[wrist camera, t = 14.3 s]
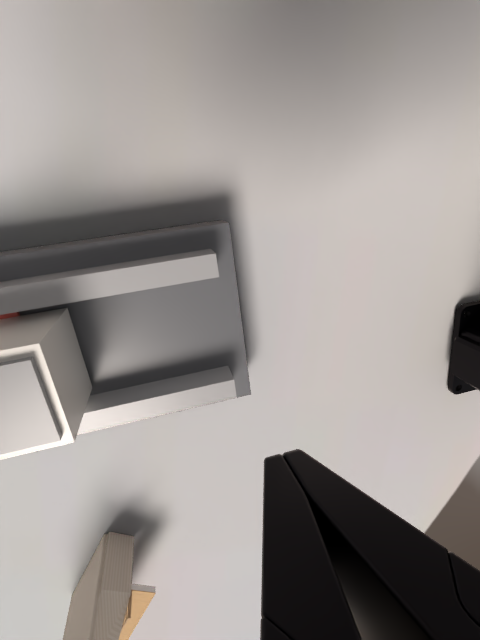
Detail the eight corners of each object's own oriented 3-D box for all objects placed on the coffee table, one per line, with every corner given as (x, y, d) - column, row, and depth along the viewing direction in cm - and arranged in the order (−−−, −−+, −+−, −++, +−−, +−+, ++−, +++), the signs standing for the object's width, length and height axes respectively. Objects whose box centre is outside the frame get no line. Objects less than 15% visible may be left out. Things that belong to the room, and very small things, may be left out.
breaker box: (221, 219, 17) (238, 226, 14) (242, 376, 21) (261, 415, 17) (-70, 262, 15) (-141, 282, 12) (4, 430, 18) (-33, 488, 15)
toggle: (67, 307, 15) (36, 346, 11) (92, 387, 16) (72, 447, 13) (-9, 320, 15) (-69, 366, 11) (24, 402, 16) (-19, 469, 12)
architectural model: (156, 533, 24) (157, 670, 17) (115, 605, 25) (101, 759, 18) (106, 524, 23) (86, 667, 16) (66, 600, 24) (31, 763, 17)
